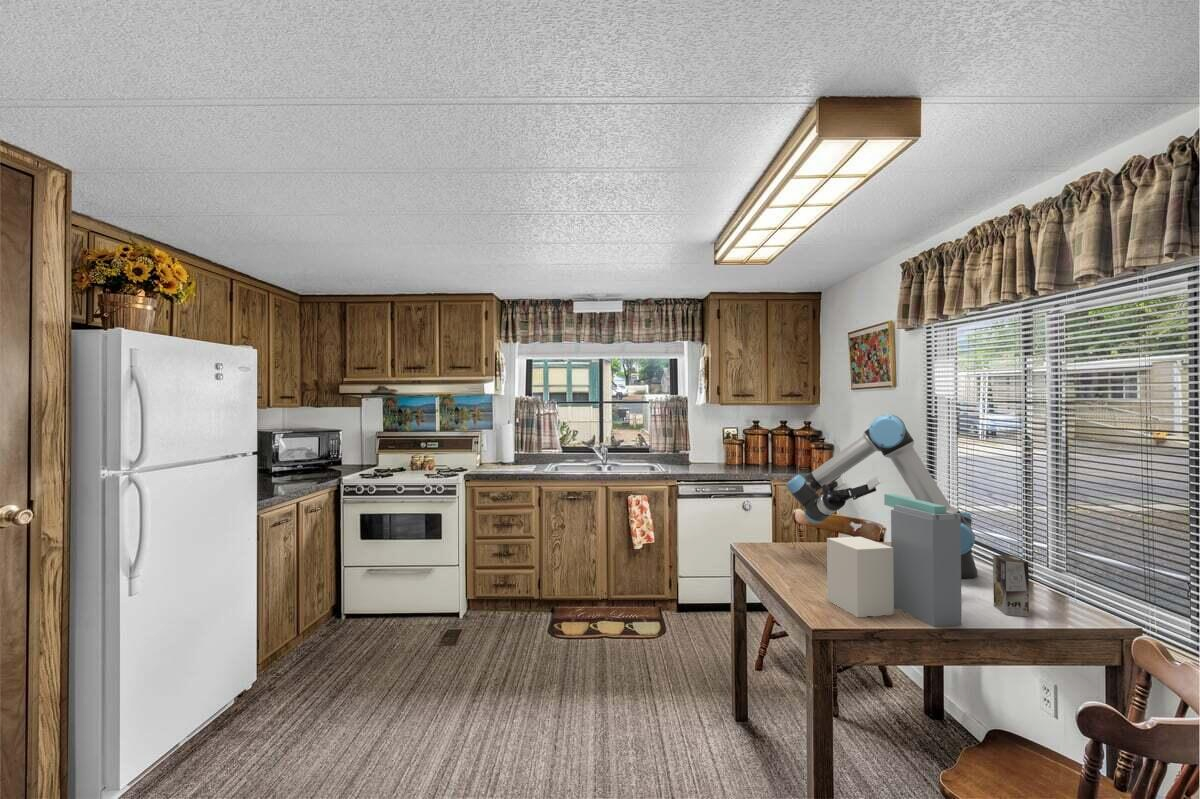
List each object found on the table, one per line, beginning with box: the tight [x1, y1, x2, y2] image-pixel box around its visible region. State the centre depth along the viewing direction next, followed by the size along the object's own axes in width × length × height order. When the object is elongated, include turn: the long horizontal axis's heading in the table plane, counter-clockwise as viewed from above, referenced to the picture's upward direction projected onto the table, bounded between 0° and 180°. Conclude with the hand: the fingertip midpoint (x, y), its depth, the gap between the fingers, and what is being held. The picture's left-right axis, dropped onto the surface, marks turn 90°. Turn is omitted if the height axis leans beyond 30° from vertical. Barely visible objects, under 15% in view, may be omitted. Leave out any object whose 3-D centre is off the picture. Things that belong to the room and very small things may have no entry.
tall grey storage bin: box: [890, 505, 963, 628], centre depth 182 cm, size 9×18×32 cm, turn 11°
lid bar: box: [883, 493, 946, 514], centre depth 187 cm, size 4×26×4 cm, turn 6°
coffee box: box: [992, 554, 1030, 617], centre depth 185 cm, size 9×6×16 cm
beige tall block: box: [826, 536, 895, 618], centre depth 189 cm, size 12×16×20 cm
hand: (861, 479), depth 211 cm, fingers open, 13 cm apart
